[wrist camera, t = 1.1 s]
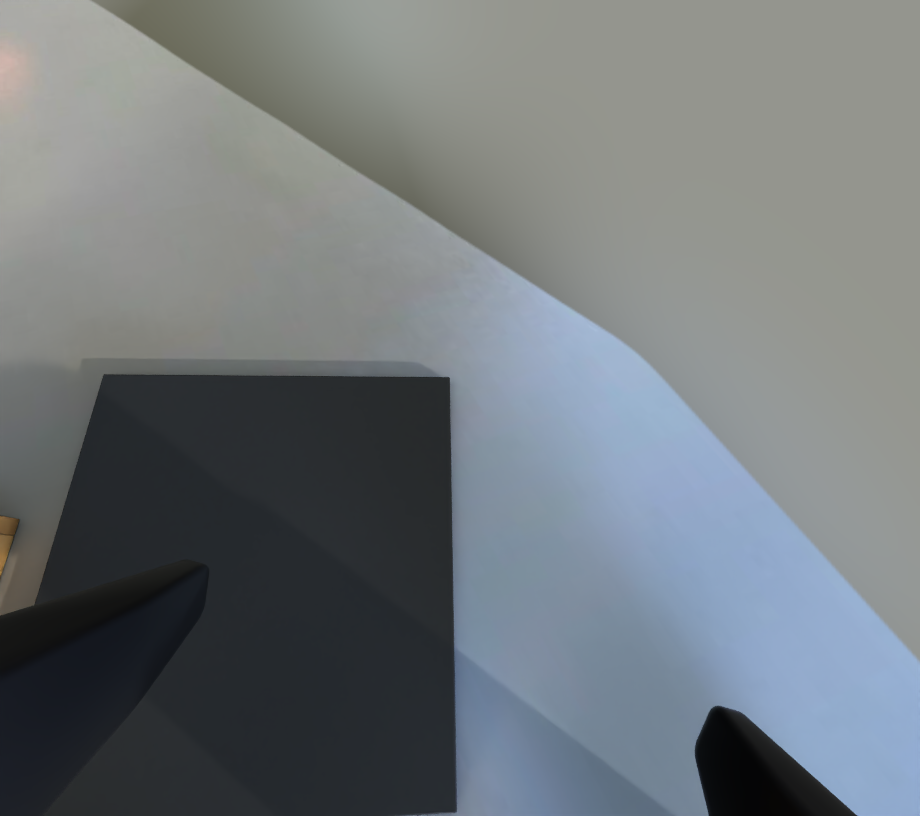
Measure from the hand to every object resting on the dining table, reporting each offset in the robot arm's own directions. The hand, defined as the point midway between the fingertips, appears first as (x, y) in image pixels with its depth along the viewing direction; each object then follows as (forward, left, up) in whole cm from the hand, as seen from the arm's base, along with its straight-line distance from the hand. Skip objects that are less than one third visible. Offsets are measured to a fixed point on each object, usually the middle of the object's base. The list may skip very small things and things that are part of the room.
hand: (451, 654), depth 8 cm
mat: (+2, +9, -15) cm, 18 cm away
